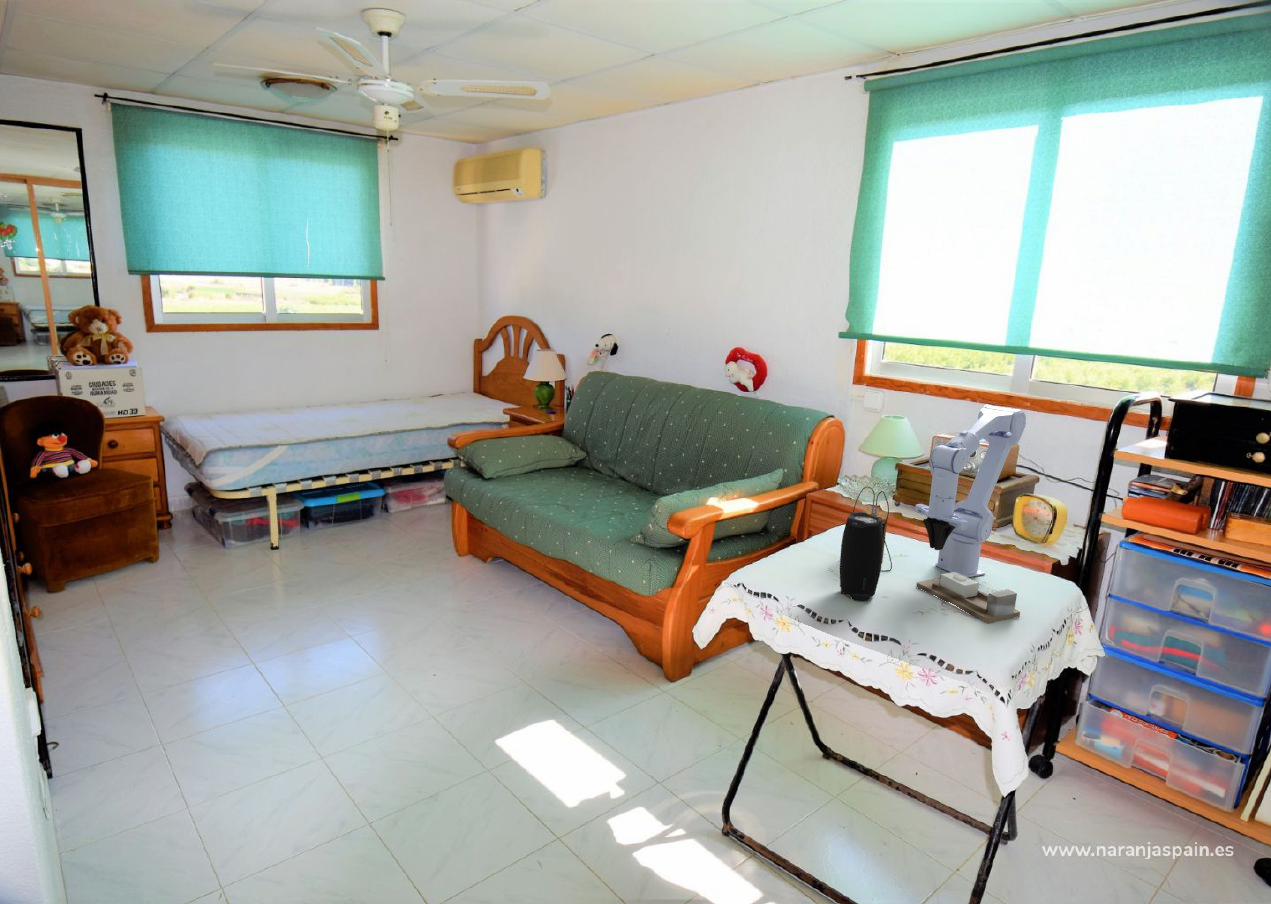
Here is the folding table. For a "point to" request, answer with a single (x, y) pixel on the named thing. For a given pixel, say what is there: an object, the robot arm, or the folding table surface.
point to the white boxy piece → (959, 584)
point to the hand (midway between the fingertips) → (936, 548)
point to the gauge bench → (977, 602)
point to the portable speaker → (861, 555)
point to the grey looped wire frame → (882, 521)
